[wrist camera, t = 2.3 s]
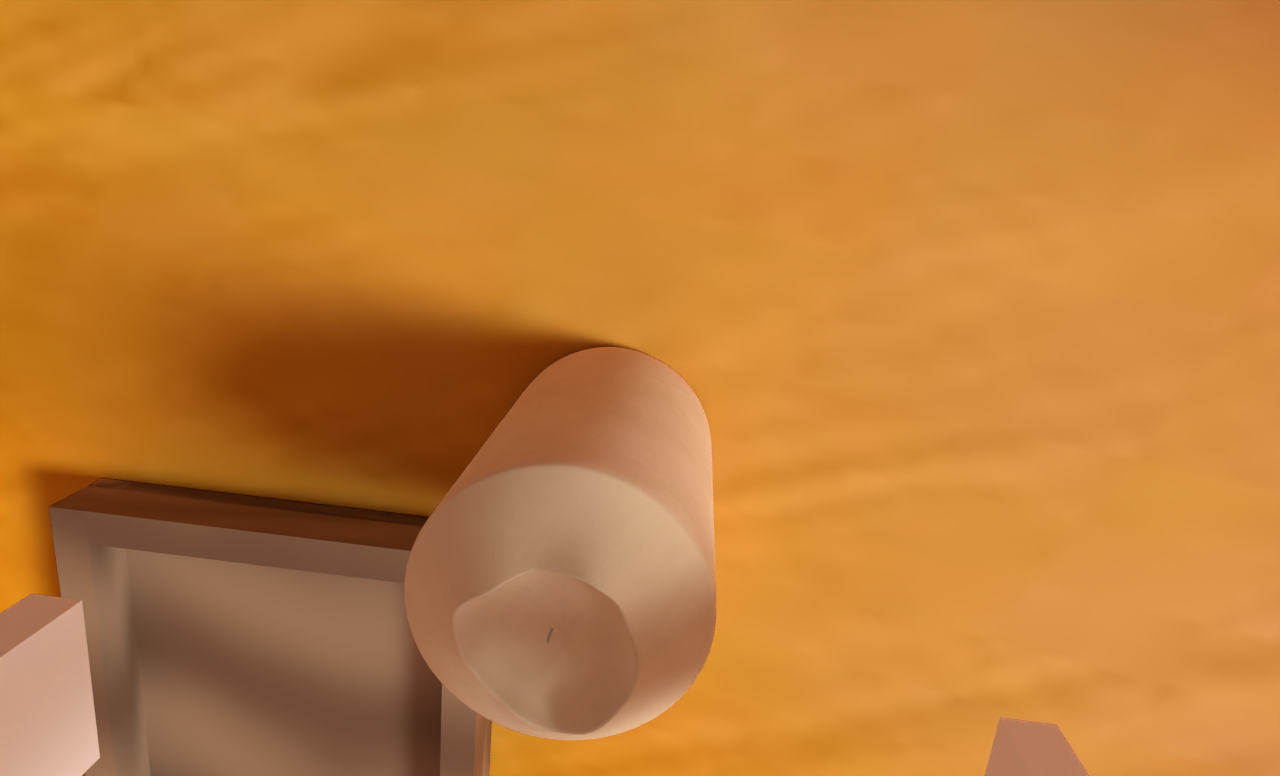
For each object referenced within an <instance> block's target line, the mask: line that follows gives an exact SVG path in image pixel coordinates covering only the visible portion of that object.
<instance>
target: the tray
mask: <svg viewBox="0 0 1280 776" xmlns="http://www.w3.org/2000/svg"><path fill="white" fill-rule="evenodd" d="M49 512H50V519H51V526H52V534H53V541H54V549H55V556H56V563H57V571H58V578H59V585H60V593H61V597H62V598H69V599H77V600H82V604H83V612H84V621H85V630H86V639H87V647H88V656H89V665H90V674H91V682H92V691H93V700H94V709H95V717H96V726H97V735H98V744H99V753H100V758H99V759H98V760H97V761H96V762H95V763H94V764H93V765H92V766H91V767H90V768H89V769H88V770H87V771H86V772H85V776H489V767H490V745H491V723H492V721H491V720H488V719H487V718H485V717H483V716H482V715H480V714H478V713H477V712H475V711H474V710H472V709H470V708H469V707H468V706H467V705H465V704H464V703H463V702H461V701H460V700H459V699H458V698H456V697H455V696H454V695H453V694H452V693H451V692H450V691H449V690H448V689H447V688H446V687H445V686H444V685H443V684H442V683H441V682H440V681H439V679H438V678H437V677H436V676H435V674H434V673H433V672H432V671H431V669H430V668H429V666H428V665H427V663H426V661H425V660H424V658H423V657H422V655H421V653H420V651H419V649H418V647H417V645H416V642H415V640H414V638H413V636H412V632H411V629H410V626H409V622H408V619H407V613H406V606H405V576H406V569H407V563H408V560H409V557H410V553H411V550H412V547H413V545H414V543H415V541H416V539H417V536H418V534H419V532H420V530H421V529H422V527H423V526H424V524H425V523H426V521H427V520H428V518H429V517H422V516H414V515H405V514H397V513H389V512H380V511H372V510H364V509H355V508H347V507H339V506H330V505H322V504H314V503H305V502H297V501H289V500H280V499H272V498H263V497H255V496H247V495H238V494H230V493H222V492H213V491H205V490H197V489H188V488H180V487H172V486H163V485H155V484H147V483H138V482H130V481H122V480H113V479H105V478H101V479H99V480H98V481H96V482H94V483H92V484H90V485H88V486H86V487H85V488H83V489H81V490H79V491H77V492H75V493H74V494H72V495H70V496H68V497H66V498H64V499H62V500H61V501H59V502H57V503H55V504H53V505H51V506H50V507H49Z"/></svg>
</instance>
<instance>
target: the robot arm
mask: <svg viewBox="0 0 1280 776" xmlns="http://www.w3.org/2000/svg"><path fill="white" fill-rule="evenodd" d="M99 758H100V753H99V744H98V735H97V726H96V717H95V709H94V700H93V691H92V682H91V674H90V665H89V656H88V647H87V639H86V630H85V621H84V612H83V604H82V600H77V599H69V598H62V597H54V596H46V595H38V594H30V595H29V596H27V597H26V598H24V599H22V600H21V601H19V602H18V603H16V604H15V605H13V606H12V607H10V608H8V609H7V610H5V611H4V612H2V613H1V614H0V776H82V775H83V774H84V773H85V772H86V771H87V770H88V769H89V768H90V767H91V766H92V765H93V764H94V763H95V762H96V761H97V760H98V759H99ZM985 776H1089V775H1088V773H1087V772H1086V770H1085V769H1084V767H1083V765H1082V764H1081V762H1080V761H1079V759H1078V757H1077V756H1076V754H1075V753H1074V751H1073V750H1072V748H1071V746H1070V745H1069V743H1068V742H1067V740H1066V739H1065V737H1064V735H1063V734H1062V732H1061V731H1060V729H1059V727H1058V726H1057V725H1055V724H1048V723H1040V722H1032V721H1024V720H1016V719H1008V718H1001V717H1000V719H999V723H998V727H997V731H996V735H995V739H994V742H993V746H992V750H991V754H990V758H989V762H988V766H987V769H986V773H985Z"/></svg>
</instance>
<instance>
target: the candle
mask: <svg viewBox="0 0 1280 776" xmlns="http://www.w3.org/2000/svg"><path fill="white" fill-rule="evenodd" d="M405 606H406V613H407V619H408V622H409V626H410V629H411V632H412V636H413V638H414V640H415V642H416V645H417V647H418V649H419V651H420V653H421V655H422V657H423V658H424V660H425V661H426V663H427V665H428V666H429V668H430V669H431V671H432V672H433V673H434V674H435V676H436V677H437V678H438V679H439V681H440V682H441V683H442V684H443V685H444V686H445V687H446V688H447V689H448V690H449V691H450V692H451V693H452V694H453V695H454V696H455V697H456V698H458V699H459V700H460V701H461V702H463V703H464V704H465V705H467V706H468V707H469V708H470V709H472V710H474V711H475V712H477V713H478V714H480V715H482V716H483V717H485V718H487V719H488V720H491V721H493V722H495V723H497V724H499V725H501V726H503V727H505V728H508V729H511V730H514V731H517V732H520V733H523V734H527V735H531V736H536V737H540V738H548V739H557V740H586V739H595V738H602V737H607V736H611V735H616V734H619V733H622V732H625V731H628V730H631V729H633V728H636V727H638V726H640V725H642V724H644V723H646V722H648V721H650V720H652V719H654V718H655V717H657V716H658V715H660V714H661V713H663V712H664V711H666V710H667V709H668V708H669V707H671V706H672V705H673V704H674V703H675V702H676V701H677V700H678V699H680V698H681V697H682V695H683V694H684V693H685V692H686V691H687V690H688V688H689V687H690V686H691V685H692V684H693V682H694V681H695V679H696V677H697V676H698V674H699V673H700V671H701V670H702V668H703V665H704V663H705V661H706V659H707V656H708V654H709V652H710V648H711V644H712V641H713V637H714V631H715V623H716V589H715V553H714V517H713V481H712V447H711V436H710V430H709V425H708V421H707V418H706V415H705V412H704V410H703V408H702V406H701V404H700V401H699V400H698V398H697V396H696V395H695V393H694V392H693V390H692V389H691V387H690V386H689V385H688V384H687V383H686V381H685V380H684V379H683V378H682V377H681V376H680V375H679V374H678V373H677V372H675V371H674V370H673V369H672V368H671V367H669V366H668V365H666V364H665V363H663V362H662V361H660V360H658V359H656V358H654V357H652V356H650V355H647V354H645V353H642V352H639V351H636V350H631V349H627V348H619V347H597V348H591V349H585V350H582V351H579V352H576V353H573V354H570V355H568V356H566V357H564V358H561V359H559V360H558V361H556V362H554V363H553V364H551V365H550V366H548V367H547V368H546V369H544V370H543V371H542V372H541V373H540V374H539V375H538V376H537V377H536V378H535V379H534V380H533V381H532V382H531V383H530V385H529V386H528V387H527V388H526V389H525V390H524V392H523V393H522V394H521V395H520V397H519V398H518V399H517V401H516V402H515V403H514V405H513V406H512V407H511V409H510V410H509V411H508V413H507V414H506V415H505V417H504V418H503V419H502V421H501V422H500V423H499V425H498V426H497V427H496V429H495V430H494V431H493V433H492V434H491V435H490V437H489V438H488V439H487V441H486V442H485V443H484V445H483V446H482V447H481V449H480V450H479V451H478V453H477V454H476V455H475V457H474V458H473V459H472V461H471V462H470V463H469V465H468V466H467V467H466V469H465V470H464V471H463V473H462V474H461V475H460V477H459V478H458V479H457V481H456V482H455V483H454V485H453V486H452V487H451V489H450V490H449V491H448V493H447V494H446V495H445V497H444V498H443V499H442V501H441V502H440V503H439V505H438V506H437V507H436V509H435V510H434V511H433V513H432V514H431V516H430V517H429V518H428V520H427V521H426V523H425V524H424V526H423V527H422V529H421V530H420V532H419V534H418V536H417V539H416V541H415V543H414V545H413V547H412V550H411V553H410V557H409V560H408V563H407V569H406V576H405Z"/></svg>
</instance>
